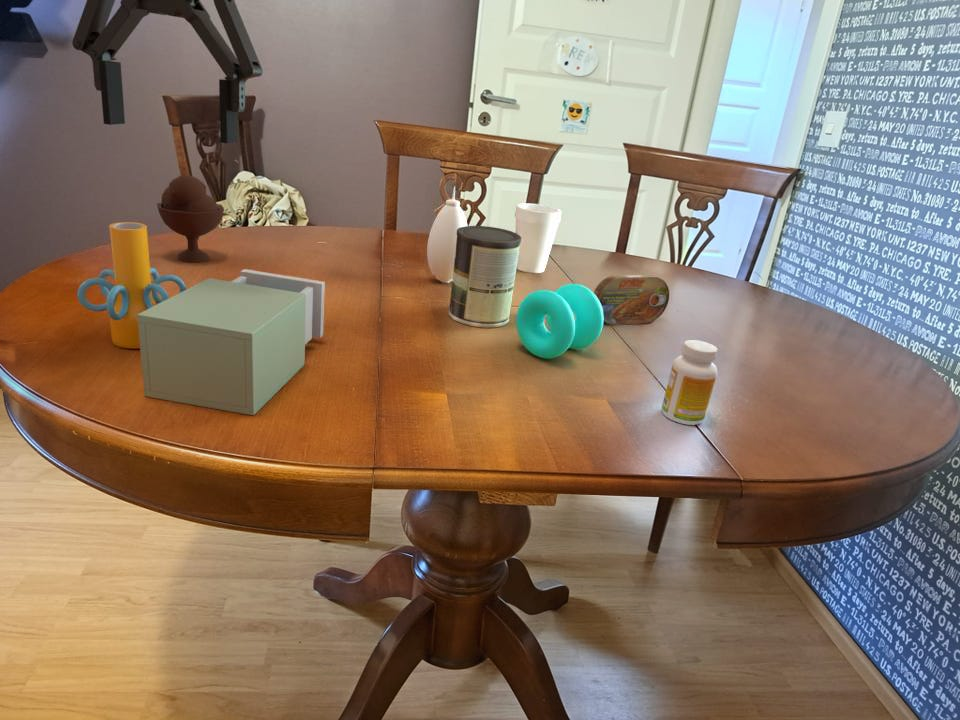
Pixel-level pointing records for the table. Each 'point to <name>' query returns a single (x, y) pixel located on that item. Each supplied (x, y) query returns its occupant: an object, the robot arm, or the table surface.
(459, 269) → the coffee can
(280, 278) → the light grey drawer
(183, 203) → the ice cream bowl
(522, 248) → the foam cup
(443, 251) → the sauce bottle
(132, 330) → the cylinder
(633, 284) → the tin
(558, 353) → the donuts
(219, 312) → the green box
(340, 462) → the table surface
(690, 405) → the supplement bottle
